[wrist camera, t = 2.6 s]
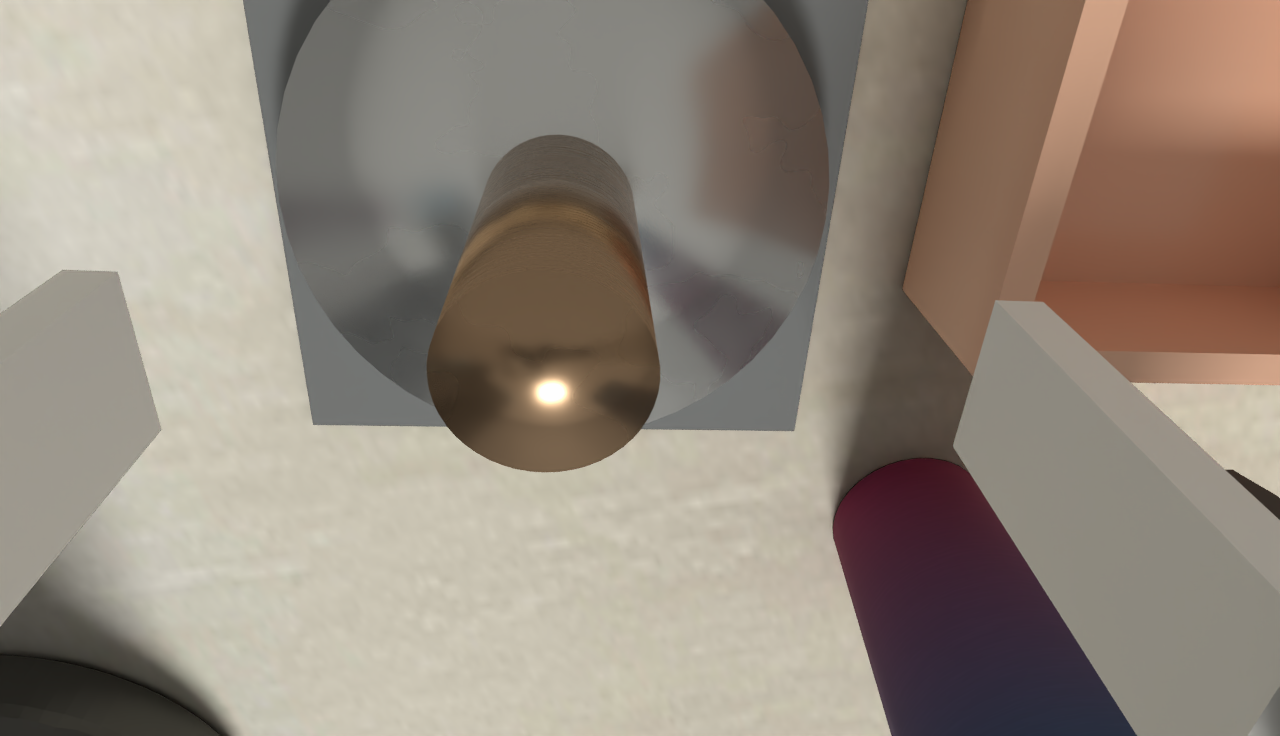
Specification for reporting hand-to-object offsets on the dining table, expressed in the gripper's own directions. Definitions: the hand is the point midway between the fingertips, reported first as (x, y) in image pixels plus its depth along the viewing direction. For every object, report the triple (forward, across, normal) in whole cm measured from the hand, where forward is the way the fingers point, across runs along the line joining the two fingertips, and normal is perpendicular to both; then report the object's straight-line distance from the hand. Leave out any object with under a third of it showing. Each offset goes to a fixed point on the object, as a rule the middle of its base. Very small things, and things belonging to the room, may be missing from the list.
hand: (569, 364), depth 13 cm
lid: (+9, 0, 0) cm, 9 cm away
